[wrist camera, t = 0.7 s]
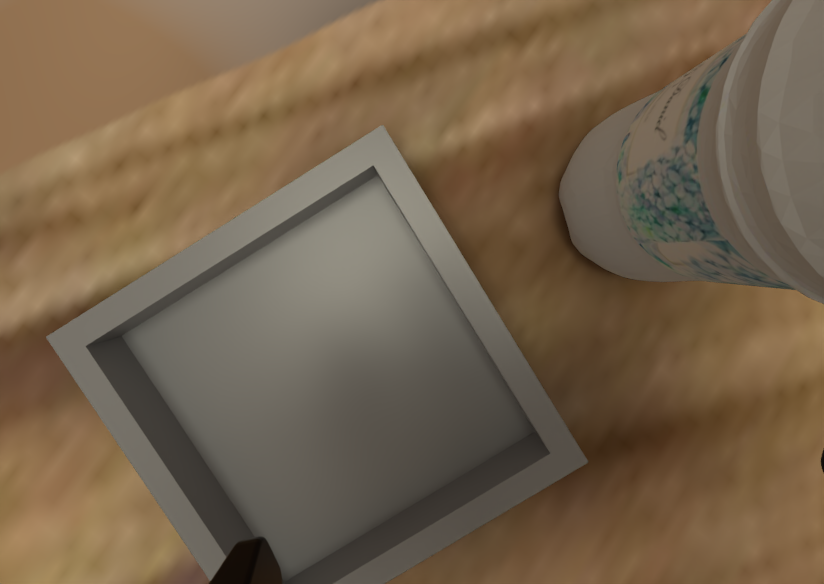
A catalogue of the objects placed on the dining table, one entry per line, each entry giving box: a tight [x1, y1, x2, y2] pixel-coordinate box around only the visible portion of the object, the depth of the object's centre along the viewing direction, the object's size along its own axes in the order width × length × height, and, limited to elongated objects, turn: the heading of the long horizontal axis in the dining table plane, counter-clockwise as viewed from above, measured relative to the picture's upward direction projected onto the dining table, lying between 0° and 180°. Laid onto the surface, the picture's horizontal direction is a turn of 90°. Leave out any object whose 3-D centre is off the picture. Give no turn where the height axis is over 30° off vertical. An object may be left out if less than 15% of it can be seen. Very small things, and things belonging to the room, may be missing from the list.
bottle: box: [559, 0, 824, 304], centre depth 12 cm, size 7×7×20 cm
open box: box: [46, 125, 588, 584], centre depth 21 cm, size 14×14×3 cm
